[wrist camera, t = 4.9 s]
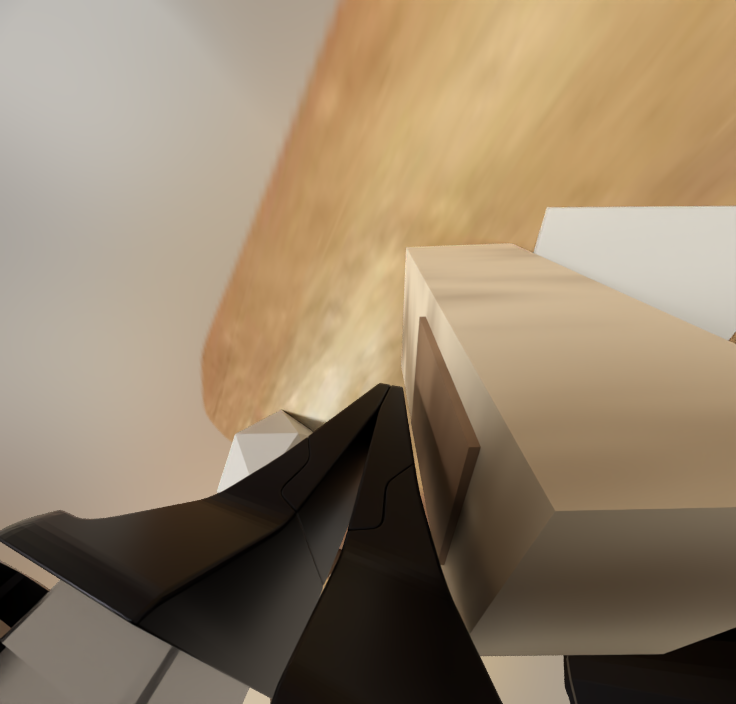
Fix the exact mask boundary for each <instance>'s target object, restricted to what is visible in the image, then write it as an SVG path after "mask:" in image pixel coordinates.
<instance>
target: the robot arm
mask: <svg viewBox="0 0 736 704" xmlns="http://www.w3.org/2000/svg"><path fill="white" fill-rule="evenodd" d="M349 522H350V523H349ZM348 525H349V526H348ZM347 527H348V532H347V534H346V538H345V541H344V545H343V548H342V551H341V553H340V556H339V558H338V561H337V563H336V565H335V567H334V569H333V571H332V573H331V575H330V577H329V579H328V581H327V583H326V585H325V587H324V589H323V585H324V584H325V582H326V579H327V577H328V574H329V572H330V569H331V567H332V564H333V562H334V559H335V557H336V554H337V552H338V549H339V547H340V545H341V542H342V540H343V537H344V535H345V532H346V530H347ZM0 542H2V543H3V544H5V545H6V546H8V547H10V548H11V549H13V550H14V551H16V552H18V553H19V554H21V555H22V556H24V557H25V558H27V559H29V560H30V561H32V562H33V563H35V564H37V565H38V566H40V567H41V568H43V569H45V570H46V571H48V572H49V573H51V574H52V575H54V576H56V577H57V578H59V579H60V581H59V582H58V583H57V584H56V585H55V586H54V587H53V588H52V589H51V590H50V589H48V588H47V587H45V586H44V585H42V584H41V583H39V582H38V581H36V580H34V579H33V578H31V577H29V576H27V575H26V574H24V573H22V572H20V571H19V570H17V569H15V568H13V567H12V566H10V565H8V564H6V563H4V562H2V561H0V704H242V703H243V701H244V699H245V696H246V694H247V692H248V690H249V688H252V689H254V690H256V691H258V692H260V693H262V694H264V695H266V696H267V697H269V698H271V699H272V701H271V704H503V703H502V701H501V699H500V698H499V695H498V693H497V691H496V689H495V687H494V685H493V683H492V681H491V678H490V676H489V674H488V672H487V670H486V668H485V666H484V664H483V662H482V660H481V658H480V655H479V653H478V651H477V649H476V647H475V645H474V643H473V641H472V639H471V637H470V634H469V632H468V630H467V628H466V626H465V624H464V622H463V620H462V618H461V616H460V613H459V611H458V609H457V607H456V605H455V603H454V601H453V598H452V596H451V593H450V591H449V588H448V585H447V583H446V580H445V577H444V574H443V571H442V568H441V565H440V561H439V558H438V555H437V551H436V548H435V545H434V541H433V538H432V535H431V531H430V528H429V525H428V521H427V518H426V515H425V511H424V507H423V503H422V500H421V496H420V491H419V486H418V481H417V475H416V468H415V463H414V456H413V450H412V443H411V437H410V430H409V424H408V417H407V411H406V405H405V398H404V392H403V388H402V387H400V386H394V385H392V386H390V385H389V384H383V383H379V384H377V385H376V386H375V387H373V388H372V389H371V390H369V391H368V392H367V393H365V394H364V395H363V396H361V397H360V398H359V399H357V400H356V401H355V402H353V403H352V404H351V405H349V406H348V407H347V408H345V409H344V410H342V411H341V412H340V413H338V414H337V415H336V416H334V417H333V418H332V419H330V420H329V421H328V422H326V423H325V424H324V425H322V426H321V427H320V428H318V429H317V430H316V431H314V432H313V433H312V434H310V435H309V436H308V437H306V438H305V439H303V440H302V441H301V442H299V443H298V444H297V445H295V446H294V447H292V448H291V449H289V450H288V451H287V452H285V453H284V454H282V455H281V456H279V457H277V458H276V459H274V460H273V461H271V462H270V463H268V464H266V465H265V466H263V467H262V468H260V469H258V470H257V471H255V472H253V473H252V474H250V475H248V476H247V477H245V478H243V479H242V480H240V481H239V482H237V483H235V484H234V485H232V486H230V487H229V488H227V489H225V490H223V491H221V492H219V493H217V494H215V495H213V496H210V497H208V498H205V499H201V500H197V501H192V502H187V503H182V504H177V505H172V506H167V507H162V508H157V509H151V510H146V511H141V512H135V513H131V514H125V515H120V516H115V517H108V518H100V519H82V518H78V517H75V516H74V515H71V514H70V513H67V512H65V511H62V510H57V511H53V512H50V513H46V514H42V515H38V516H34V517H31V518H28V519H25V520H22V521H20V522H17V523H15V524H12V525H10V526H8V527H6V528H4V529H2V530H0ZM322 589H323V591H322ZM321 592H322V593H321ZM320 594H321V595H320ZM319 597H320V598H319ZM318 599H319V600H318ZM564 677H565V678H564V680H565V681H564V682H565V689H566V692H567V694H568V697H569V700H570V704H736V627H735V628H733V629H730V630H727V631H725V632H722V633H719V634H716V635H714V636H711V637H708V638H705V639H703V640H700V641H697V642H695V643H692V644H689V645H686V646H684V647H681V648H678V649H675V650H673V651H670V652H667V653H665V654H626V655H564Z"/></svg>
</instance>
